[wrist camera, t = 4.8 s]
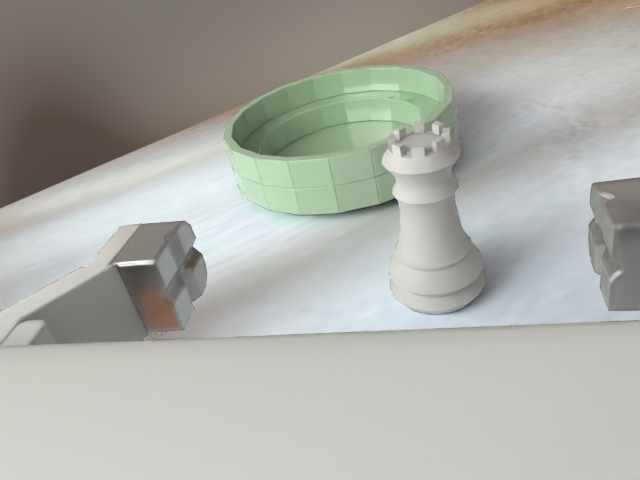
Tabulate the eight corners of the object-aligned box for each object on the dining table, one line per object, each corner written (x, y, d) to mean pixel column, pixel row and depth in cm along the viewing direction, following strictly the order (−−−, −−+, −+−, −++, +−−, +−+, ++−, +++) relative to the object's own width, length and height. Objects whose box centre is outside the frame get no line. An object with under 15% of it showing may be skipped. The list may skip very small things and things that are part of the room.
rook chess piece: (374, 284, 29) (344, 136, 25) (449, 249, 31) (433, 102, 26) (423, 333, 26) (399, 171, 22) (507, 292, 27) (499, 130, 23)
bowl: (351, 105, 50) (342, 56, 48) (506, 138, 39) (503, 77, 37) (201, 185, 43) (183, 132, 41) (339, 251, 32) (324, 184, 30)
